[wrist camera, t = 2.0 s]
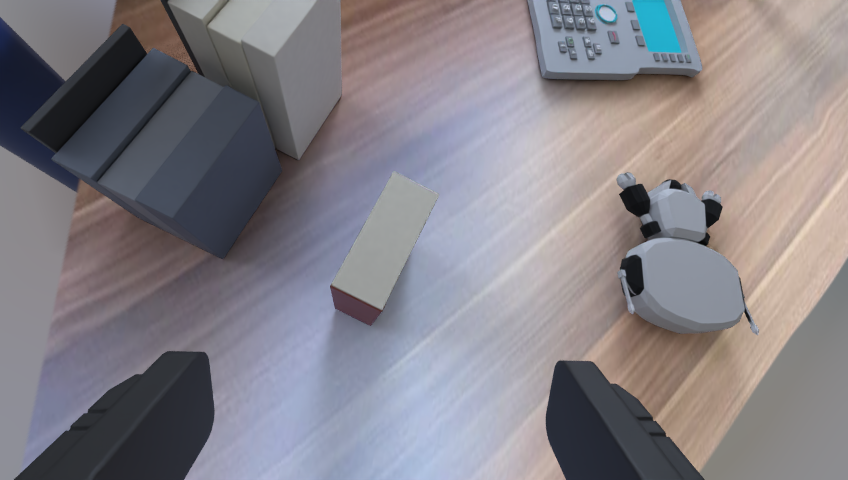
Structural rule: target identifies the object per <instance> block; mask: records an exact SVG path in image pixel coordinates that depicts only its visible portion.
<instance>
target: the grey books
mask: <svg viewBox="0 0 848 480" xmlns="http://www.w3.org/2000/svg"><path fill="white" fill-rule="evenodd" d="M21 129H22V130H24V131H25V132H27V133H28V134H29V135H31V136H32V137H34V138H35V139H36V140H38V141H39V142H41V143H42V144H44V145H45V146H46V147H48V148H49V149H51V150H52V151H53V152H55V153H56V154H55V155H54V156H53V158H52V160H53V161H55V162H56V163H57V164H59V165H60V166H62V167H63V168H65V169H66V170H68V171H69V172H71V173H72V174H74V175H75V176H77V177H78V178H80V179H81V180H83V181H84V182H86V183H87V184H89V185H90V186H92V187H93V188H95V189H96V190H98V191H99V192H101V193H102V194H104V195H105V196H107V197H108V198H109V199H111V200H112V201H114V202H115V203H117V204H118V205H120V206H121V207H123V208H124V209H126V210H127V211H129V212H130V213H132V214H133V215H135V216H136V217H138V218H140V219H142V220H144V221H146V222H148V223H150V224H152V225H154V226H156V227H158V228H160V229H162V230H164V231H166V232H168V233H170V234H172V235H174V236H176V237H178V238H180V239H182V240H184V241H186V242H188V243H191V244H193V245H195V246H197V247H199V248H201V249H203V250H205V251H207V252H209V253H211V254H213V255H215V256H217V257H219V258H221V259H224V257H225V256H226V254H227V253H228V251H229V250H230V248H231V247H232V245H233V244H234V242H235V241H236V239H237V238H238V236H239V235H240V233H241V232H242V230H243V229H244V227H245V226H246V224H247V223H248V221H249V220H250V218H251V217H252V215H253V214H254V212H255V211H256V209H257V208H258V206H259V205H260V203H261V202H262V200H263V199H264V197H265V196H266V194H267V193H268V191H269V190H270V188H271V187H272V185H273V184H274V182H275V181H276V179H277V178H278V176H279V175H280V173H281V172H282V168H281V165H280V162H279V159H278V156H277V153H276V150H275V147H274V145H273V142H272V139H271V136H270V133H269V130H268V127H267V124H266V121H265V118H264V115H263V112H262V109H261V106H260V103H259V102H258V101H256V100H254V99H252V98H250V97H248V96H246V95H244V94H242V93H240V92H238V91H236V90H234V89H232V88H230V87H229V86H227V85H225V86H224V87H223V86H221V85H219V84H217V83H215V82H213V81H211V80H209V79H207V78H205V77H203V76H201V75H199V74H197V73H195V72H193V71H190V69H189V67H188V65H186V64H184V63H182V62H180V61H178V60H176V59H174V58H172V57H170V56H168V55H166V54H164V53H162V52H160V51H158V50H156V49H155V48H153V49H152V50H151V51H150V52H149V53H148V54H147V53H146V51H145V50H144V48H143V47H142V45H141V44H140V42H139V41H138V39H137V38H136V36H135V35H134V33H133V31H132V30H131V28H130V27H128V26H126V25H124V24H122V25H121V26H120V27H119V28H118V29H117V30H116V31H115V32H114V33H113V34H112V35H111V36H110V37H109V38H108V39H107V40H106V41H105V42H104V43H103V44H102V45H101V46H100V47H99V48H98V49H97V50H96V51H95V52H94V53H93V54H92V56H90V58H89V59H88V60H87V61H86V62H85V63H84V64H83V65H82V66H81V67H80V68H79V69H78V70H77V71H76V72H75V73H74V74H73V75H72V76H71V77H70V78H69V79H68V80H67V81H66V82H65V83H64V84H63V85H62V86H61V87H60V88H59V89H58V90H57V91H56V92H55V93H54V94H53V95H52V96H51V97H50V98H49V99H48V100H47V101H46V102H45V103H44V104H43V105H42V106H41V107H40V108H39V109H38V110H37V111H36V112H35V114H34V115H33V116H32V117H31V118H30V119H29V120H28V121H27V122H26V123H25V124H24V125H23V126H22V127H21Z"/></svg>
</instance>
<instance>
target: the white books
mask: <svg viewBox="0 0 848 480" xmlns="http://www.w3.org/2000/svg"><path fill="white" fill-rule="evenodd" d="M161 2H162V4H163V6H164V8H165V10H166V12H167V14H168V15H169V17H170V19H171V21H172V23H173V25H174V27H175V29H176V31H177V33H178V35H179V37H180V39H181V41H182V42H183V44H184V46H185V48H186V50H187V52H188V54H189V56H190V58H191V60H192V62H193V64H194V66H195V68H196V69H197V71H198V73H199V75H201V76H203V77H205V78H207V79H209V80H211V81H213V82H215V83H217V84H219V85H221V86H223V87H224V86H225V85H227V86H229V87H230V88H232V89H234V90H236V91H238V92H240V93H242V94H244V95H246V96H248V97H250V98H252V99H254V100H256V101H258V102H259V103H260V106H261V109H262V112H263V115H264V118H265V121H266V124H267V127H268V130H269V133H270V136H271V139H272V142H273V145H274V147H275V148H277V149H278V150H280V151H282V152H283V153H285V154H287V155H289V156H291V157H293V158H295V159H297V160H299V159H300V158H301V156H302V155H303V153H304V152H305V150H306V148H307V147H308V145H309V144H310V142H311V141H312V139H313V138H314V136H315V135H316V133H317V132H318V130H319V129H320V127H321V126H322V124H323V123H324V121H325V120H326V118H327V117H328V115H329V114H330V112H331V110H332V109H333V107H334V106H335V104H336V103H337V101H338V100H339V98H340V97H341V95H342V76H341V11H340V0H161Z"/></svg>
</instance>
